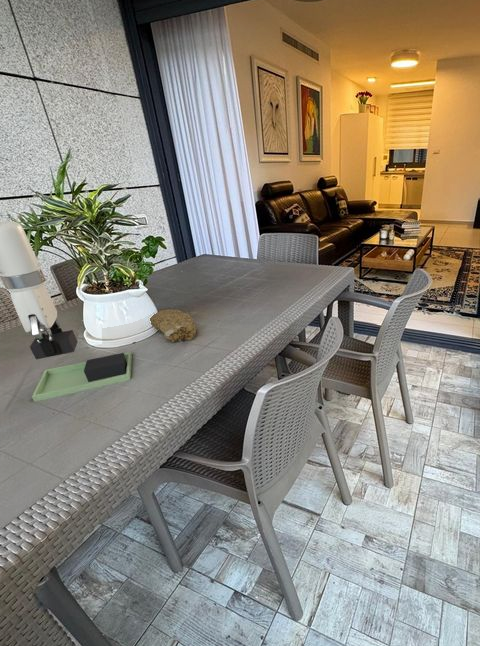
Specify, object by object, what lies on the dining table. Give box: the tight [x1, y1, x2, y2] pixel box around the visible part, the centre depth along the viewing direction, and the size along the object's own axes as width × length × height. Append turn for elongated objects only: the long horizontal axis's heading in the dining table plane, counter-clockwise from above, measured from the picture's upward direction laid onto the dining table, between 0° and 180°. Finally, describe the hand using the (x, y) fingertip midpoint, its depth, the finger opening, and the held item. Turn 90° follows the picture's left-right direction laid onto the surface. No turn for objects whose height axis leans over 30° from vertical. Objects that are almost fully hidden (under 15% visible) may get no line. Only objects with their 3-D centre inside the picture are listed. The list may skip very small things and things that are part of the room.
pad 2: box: [84, 352, 127, 382], centre depth 95 cm, size 9×6×4 cm, turn 114°
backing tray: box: [31, 351, 133, 403], centre depth 94 cm, size 21×13×2 cm, turn 113°
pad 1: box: [29, 329, 78, 361], centre depth 87 cm, size 8×6×4 cm
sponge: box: [150, 308, 197, 343], centre depth 116 cm, size 13×8×20 cm
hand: (56, 348), depth 88 cm, fingers closed on pad 1, 6 cm apart
